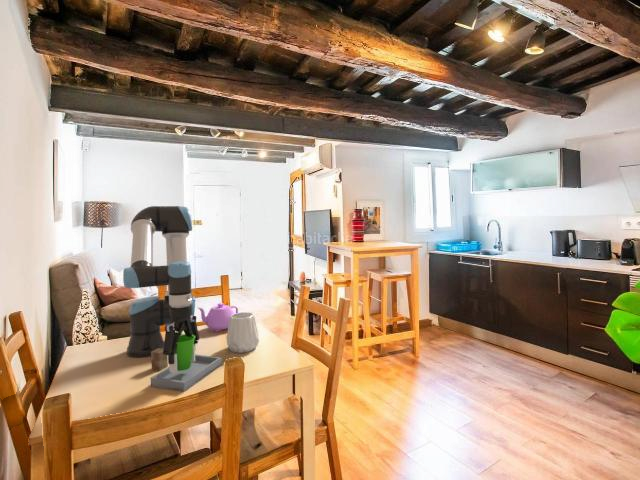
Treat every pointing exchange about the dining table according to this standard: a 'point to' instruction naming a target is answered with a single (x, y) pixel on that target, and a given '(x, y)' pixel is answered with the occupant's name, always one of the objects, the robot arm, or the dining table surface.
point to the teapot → (218, 317)
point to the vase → (242, 332)
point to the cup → (184, 352)
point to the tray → (187, 374)
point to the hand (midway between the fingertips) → (182, 366)
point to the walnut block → (158, 360)
